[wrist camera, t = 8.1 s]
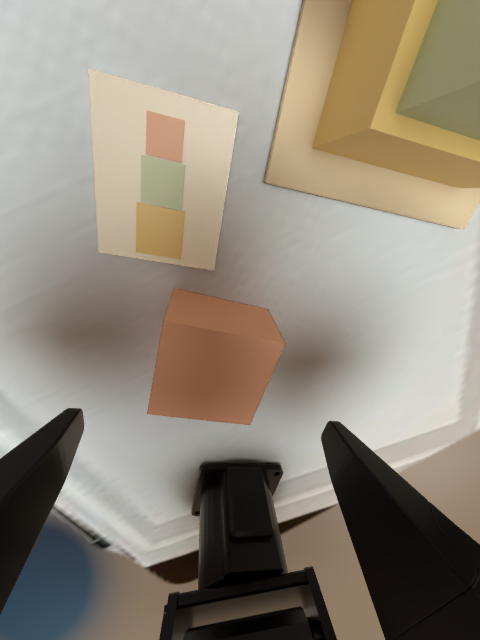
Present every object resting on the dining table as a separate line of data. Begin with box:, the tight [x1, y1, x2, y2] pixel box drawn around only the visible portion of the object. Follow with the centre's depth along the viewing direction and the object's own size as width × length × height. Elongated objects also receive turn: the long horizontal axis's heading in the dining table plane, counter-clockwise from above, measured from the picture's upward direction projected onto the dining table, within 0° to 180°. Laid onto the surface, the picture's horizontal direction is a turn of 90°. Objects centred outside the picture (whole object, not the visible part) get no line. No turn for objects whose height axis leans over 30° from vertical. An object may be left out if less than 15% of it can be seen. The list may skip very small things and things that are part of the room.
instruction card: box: [88, 68, 239, 271], centre depth 10 cm, size 6×5×1 cm
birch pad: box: [264, 0, 480, 229], centre depth 9 cm, size 10×10×1 cm
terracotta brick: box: [147, 288, 285, 425], centre depth 13 cm, size 5×5×4 cm
